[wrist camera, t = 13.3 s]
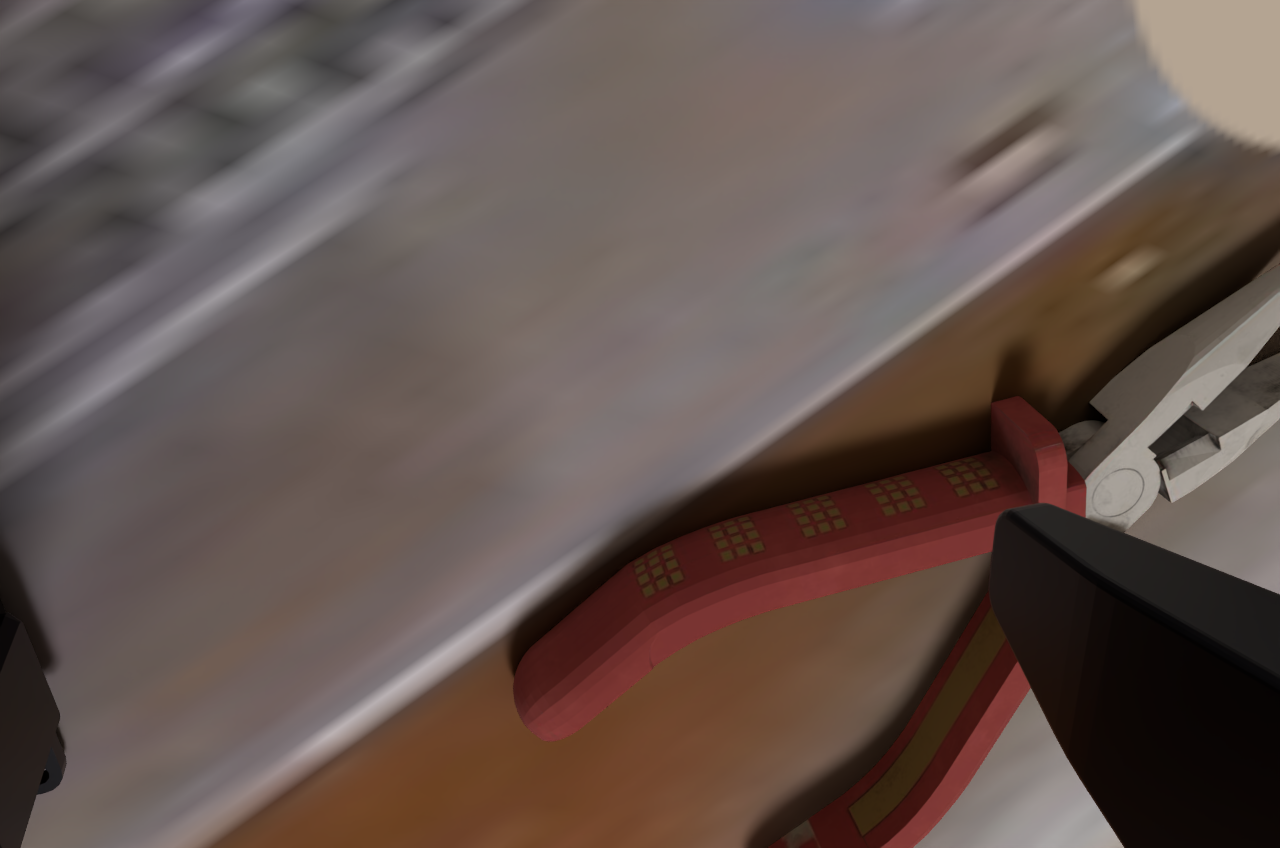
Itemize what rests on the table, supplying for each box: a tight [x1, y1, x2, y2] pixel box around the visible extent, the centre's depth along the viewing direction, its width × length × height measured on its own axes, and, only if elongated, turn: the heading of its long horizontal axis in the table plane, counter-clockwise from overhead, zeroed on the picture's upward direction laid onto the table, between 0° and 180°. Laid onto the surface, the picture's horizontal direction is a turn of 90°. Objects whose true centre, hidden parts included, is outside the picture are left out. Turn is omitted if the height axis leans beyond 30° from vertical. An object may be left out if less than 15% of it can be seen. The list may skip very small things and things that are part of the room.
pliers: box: [513, 263, 1280, 848], centre depth 26 cm, size 12×20×3 cm, turn 129°
